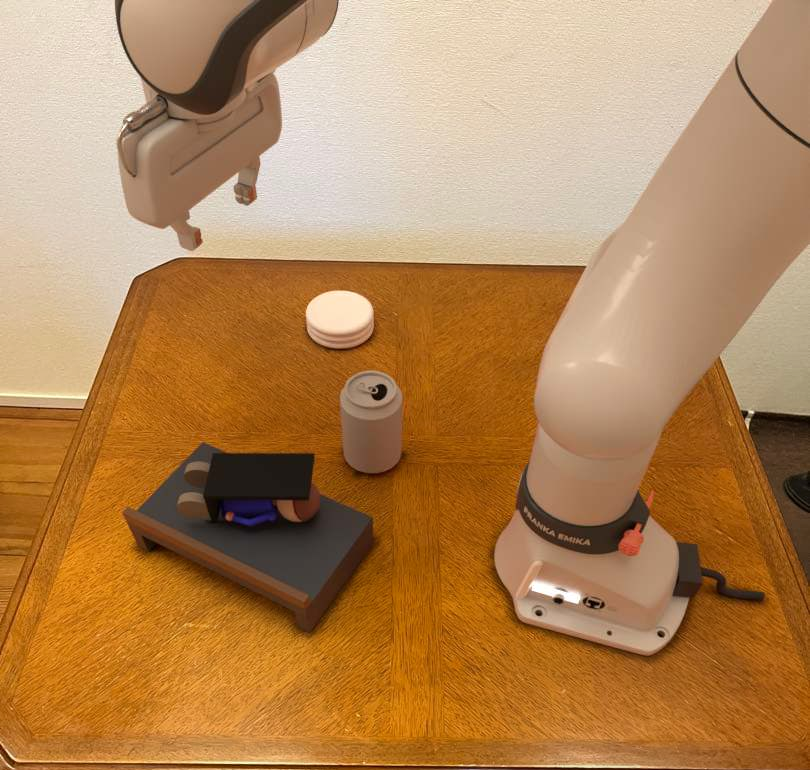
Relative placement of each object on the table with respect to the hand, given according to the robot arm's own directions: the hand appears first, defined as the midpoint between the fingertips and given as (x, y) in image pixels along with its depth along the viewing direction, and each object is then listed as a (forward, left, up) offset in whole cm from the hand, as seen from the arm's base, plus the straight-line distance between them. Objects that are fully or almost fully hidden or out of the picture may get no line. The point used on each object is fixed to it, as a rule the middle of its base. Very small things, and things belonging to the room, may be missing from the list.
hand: (220, 223), depth 76 cm
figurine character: (-11, +16, -24) cm, 31 cm away
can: (-16, -2, -29) cm, 33 cm away
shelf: (-11, +17, -29) cm, 35 cm away
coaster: (+1, -22, -29) cm, 37 cm away
